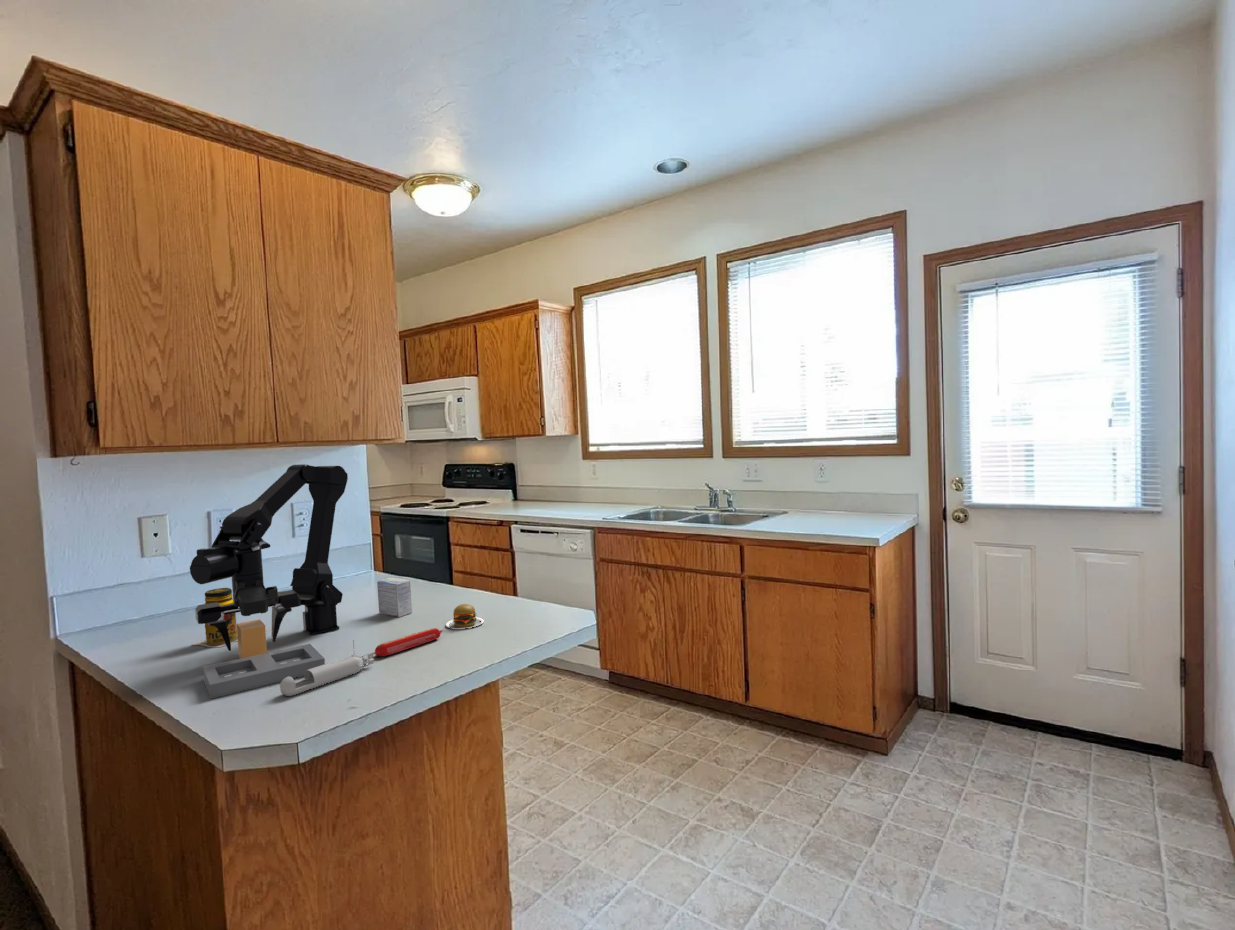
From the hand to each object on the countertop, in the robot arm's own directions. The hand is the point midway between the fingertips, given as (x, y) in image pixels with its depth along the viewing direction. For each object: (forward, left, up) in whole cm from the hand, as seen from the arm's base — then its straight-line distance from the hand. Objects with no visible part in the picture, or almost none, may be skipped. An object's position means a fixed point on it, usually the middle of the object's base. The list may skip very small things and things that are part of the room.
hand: (252, 646), depth 135 cm
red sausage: (-27, +18, -3) cm, 32 cm away
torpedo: (-9, +26, -3) cm, 28 cm away
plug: (0, -1, -2) cm, 3 cm away
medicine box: (-34, -11, -2) cm, 36 cm away
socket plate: (0, +14, -2) cm, 14 cm away
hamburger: (-43, +11, -3) cm, 44 cm away
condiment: (+4, -18, -3) cm, 19 cm away
